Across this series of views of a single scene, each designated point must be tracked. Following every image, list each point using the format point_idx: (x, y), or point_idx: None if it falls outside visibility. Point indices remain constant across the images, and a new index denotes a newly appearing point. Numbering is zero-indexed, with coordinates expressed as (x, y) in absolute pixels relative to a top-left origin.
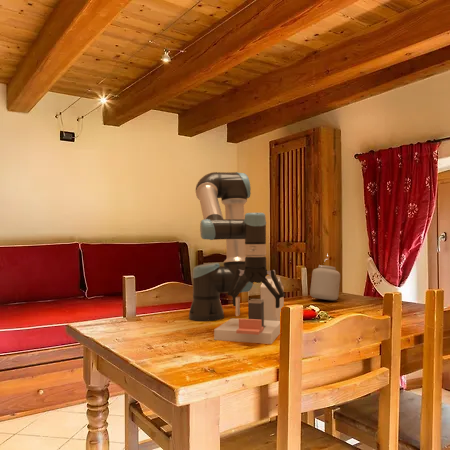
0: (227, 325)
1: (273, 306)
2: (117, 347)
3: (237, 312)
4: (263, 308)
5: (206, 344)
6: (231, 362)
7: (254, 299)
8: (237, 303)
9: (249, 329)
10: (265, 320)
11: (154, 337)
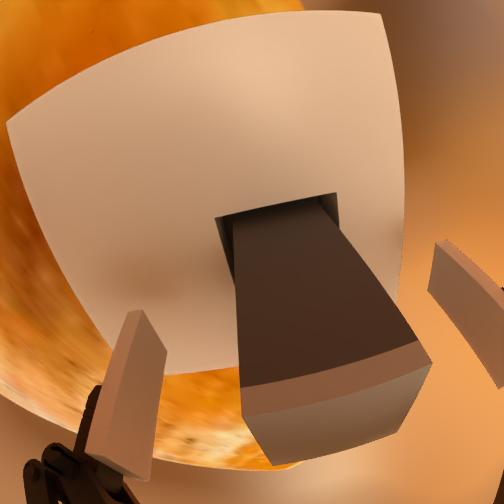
0: (111, 301)
1: (471, 345)
2: (61, 422)
3: (162, 372)
4: (380, 296)
5: (165, 385)
6: None
7: (311, 426)
8: (153, 434)
9: None
10: (253, 23)
11: (20, 366)
